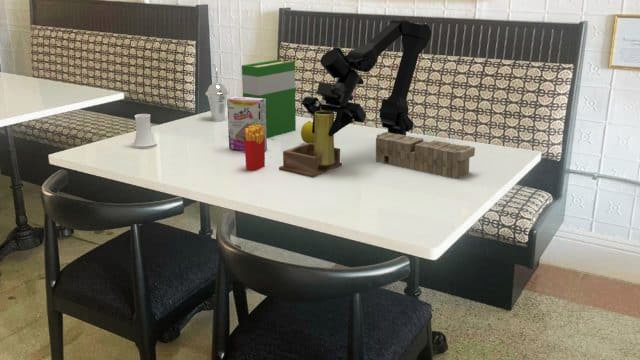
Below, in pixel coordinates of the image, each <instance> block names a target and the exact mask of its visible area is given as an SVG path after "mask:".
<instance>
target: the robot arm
mask: <svg viewBox="0 0 640 360" xmlns="http://www.w3.org/2000/svg"><path fill="white" fill-rule="evenodd" d="M431 36H432V30H431V28H430V26H429V25H428V23H427V24H426V23H420V22H419V23H418V22H411V21H409V20H406V19H402V18H401V19H400V18H399V19H398V18H394V19H392V20H391V21H390V22H389V24H388V25H386V26H385V27H384V28H383V29H382V30H381V31H380V32H378V34H377V35H375V36H374V37H373V38H371V39H370V40H369V41H368V42H367V43H366V44H362V45H359V46H357V47H355V48H353V49H352V50H350V51H349V52H348V53H347V54H344V52H343V51H342V48H340V47H337V46H334V47H333V48H332V49H331V50H328V51H327V52H326V53H324V54H323V55H322V56H321V58H320V61H319V63H320V65H321V66H322V67H323V68H324V70H325V71H326V72H327V73H328V74H329V75H330V77H331V78H333V79H336V81H335V83H334V84H333V83H327V82H318V86H317V90H316V95H320V96H321V99H322V100H323V102H321V101H320V99H319V98H318V97H315V96H309V95H308V96H305V97H304V98H303V100H302V101H301V104H302V106H303V107H304V108H305V109H306V111H307V112H308V113H309V114H311V115H312V122H313V125H312V133H313V134H314V132H315V112H316V111H332V112H334V113H336V116H335V118H334V122H333V125H332V127H331V129H330V131H329V134H328V135H329V136H330V137H331V136H333V135H334V136H335V134H336V133H338V132H339V131H340V130H342V129H344V128H345V127H346V126H348V125H350V124H354V122H356V123H364V122H365V120H366V118H367V113H366V112H365V110H364V108H363V107H362V106H361V104H360V103H358V102H351V101H353V100H354V97H353V93H354V91H355V89H356V87H357V85H360V86H361V85H364V80H363V76H362V75H361V74H359V73H358V72H361V73H369V72H370V71H371V70H372V69H373V68H374V67H375V65H376V64H377V63H378V60H379V57H380V56H381V54H383V53H384V52H385V51H386V50H387V49H388V48H389V47H390V46H391V45H392V44H394V42H396V41H397V40H398V39H399V38H400V37H401V39H400V41H401V45H402V49H403V51H402V55H401V58H400V61H399V65H398V69H397V72H396V76H395V79H394V83H393V86H392V90H391V94H390V95H389V97H387V98H383V99H382V100H381V106H380V108H379V109H378V111H379V115H378V117H379V119H380V121H381V126H382V128H385V129H387V132H390V133H393V134H401V135H406V136H407V132H409V133H410V131H413V128H414V125H415V123H414V122H413V120H412V119H411V118H410V116H408V115H409V110H410V107H409V104H408V95H409V91H410V88H411V84H412V82H413V78H414V74H415V71H416V68H417V67H416V66H417V63H418V59H419V56H420V54H421V53H422V52H423V50H425V48H427V46H428V44H429V41H430V38H431ZM324 102H325V103H324Z"/></svg>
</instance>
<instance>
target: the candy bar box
mask: <svg viewBox="0 0 640 360" xmlns="http://www.w3.org/2000/svg"><path fill="white" fill-rule="evenodd" d="M226 105H227V106H226V107H227V126H228V148H229V150H230V151H238V152H245V147H244V139H245V138H246V136H245V129H246V128H249V127H248V126H251V125H252V126H255V125H260V126H264V127H265V129H264V135H265V151H266V150H267V149H268V141H267V140H268V138H267V132H266V99H262V98H249V97H243V96H238V95H237V96H236V95H234V96H231V97H228V98H227V99H226Z"/></svg>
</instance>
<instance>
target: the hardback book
mask: <svg viewBox="0 0 640 360" xmlns="http://www.w3.org/2000/svg"><path fill="white" fill-rule="evenodd" d="M241 83H242V97H249V98H262V99H266V132H267V139H270V138H273V137H277V136H280V135H285V134H288V133H291V132H294V131H296V129H297V125H296V121H297V120H296V119H297V118H296V115H297V114H296V113H297V112H296V61H295V60H293V61H292V60H291V61H286V62H285V61H284V62H283V61H282V59H275V60H267V61H262V62H255V63H248V64H243V65H241Z"/></svg>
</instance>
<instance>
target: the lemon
mask: <svg viewBox="0 0 640 360" xmlns="http://www.w3.org/2000/svg"><path fill="white" fill-rule="evenodd" d="M312 125H313V121H311V120H307V122H305V123H303V125H302V127H301V130H300V136H301V139H302V141H303V142H304V144H306V143H313V144H314V134H313V133H312Z"/></svg>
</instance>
